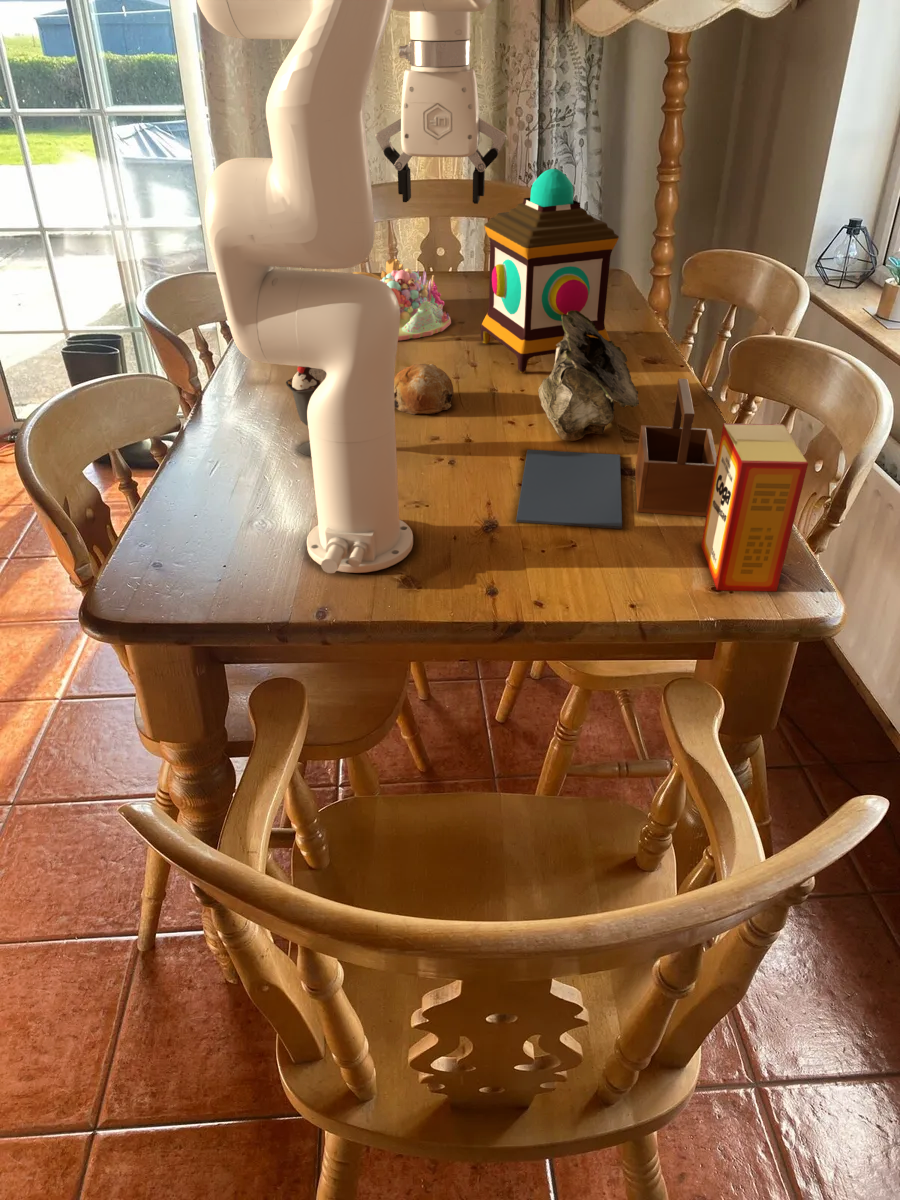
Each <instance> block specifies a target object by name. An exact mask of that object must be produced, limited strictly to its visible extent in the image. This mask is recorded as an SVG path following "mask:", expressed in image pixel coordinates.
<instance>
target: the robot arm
mask: <svg viewBox="0 0 900 1200" xmlns="http://www.w3.org/2000/svg"><path fill="white" fill-rule="evenodd" d="M492 1H493V0H196V3H197V5H198V7H199V9H200V11H201V13H202V15H203V17H204V18H205V20H206V21H207V23H208V24H209V25H210V26H211V27H212V28H213V29H215V31H217V32H219V33H220V34H222V35H224V36H226V37H231V38H233V39H234V38H235V39H241V40H296V41H295V43H294V44H293V46H292V48H291V49H290V50H289V52H288V54H287V56H286V57H285V58H284V60H283V62H282V64H281V65H280V67H279V69H278V70H277V72H276V74H275V76H274V79H273V81H272V83H271V86H270V88H269V91H268V95H267V98H266V101H265V119H266V123H267V130H268V137H269V143H270V149H271V156H272V157H255V156H254V157H251V156H249V157H246V156H245V157H235V158H231V159H227V160H226V161H224V162H222V163H220V164H219V165H218V166H217V167H216V168H215V169H214V171H213V172H212V174H211V176H210V177H209V180H208V182H207V186H206V190H205V197H204V222H205V230H206V235H207V240H208V241H207V242H208V246H209V250H210V254H211V258H212V263H213V267H214V271H215V274H216V279H217V283H218V287H219V291H220V295H221V299H222V304H223V306H224V307H223V308H224V311H225V315H226V319H227V323H228V326H229V331H230V333H231V336H232V339H233V341H234V344H235V346H236V347H237V349H238V350H239V352H240V353H241V354H242V355H243V356H244V357H245V358H247V359H249V360H250V361H253V362H258V363H263V364H271V365H278V366H289V367H291V366H292V367H299V366H302V367H310V368H316V369H322V370H324V371H325V372H326V374H327V375H326V378H325V380H324V381H323V382H322V383H321V384H320V385H319V386H318V388H317V389H316V390H315V392H314V393H313V395H312V396H311V398H310V401H309V404H308V409H307V420H308V426H307V427H308V436H309V442H310V447H311V456H310V457H311V466H312V476H313V487H314V495H315V505H316V506H315V507H316V515H317V524H316V525H315V526H314V527H313V528H312V529H311V530H310V531H309V533H308V535H307V537H306V549H307V552H308V555H309V557H310V558H311V559H312V560H313V561H314V562H316V563H317V564H318V565H320V568H321V569H322V570H323V572H325V573H326V574H335V573H336V572H341V573H346V574H347V573H349V574H350V573H351V574H361V573H362V574H363V573H372V572H377V571H382V570H384V569H385V570H386V569H387V568H390V567H393V566H394V565H397V564H399V563H400V562H401V561H403V560H404V559H405V558H407V556H408V555H410V553H411V552H412V550H413V545H414V535H413V530H412V529H411V527H410V526H409V525H408V524H407V522H405V521H403V520H402V519H400V503H399V481H398V456H397V433H396V432H397V431H396V430H397V429H396V415H395V414H396V412H395V411H396V410H395V409H396V408H395V407H394V377H395V376H396V370H395V369H396V361H397V350H398V342H399V340H398V336H399V327H400V309H399V303H398V300H397V297H396V295H395V294H394V292H393V291H392V289H391V288H390V287H389V286H388V285H386V284H385V283H384V282H382V281H380V280H378V279H376V278H373V277H370V276H366V275H362V274H355V273H353V272H345V271H344V272H343V271H342V272H341V271H326V270H341V269H343V270H344V269H349V268H353V267H354V268H355V267H357V266H359V265H361V264H363V263H364V262H365V261H366V260H367V258H368V257H369V256H370V254H371V252H372V250H373V248H374V242H375V229H376V228H375V225H376V224H375V211H374V201H373V190H372V182H371V181H372V180H371V171H370V161H369V160H370V159H369V153H368V152H369V151H368V143H367V133H366V121H365V120H366V119H365V106H366V105H365V104H366V96H367V91H368V86H369V82H370V78H371V74H372V72H373V67H374V65H375V62H376V59H377V55H378V52H379V50H380V46H381V43H382V41H383V37H384V35H385V31H386V28H387V25H388V22H389V19H390V15H391V12H392V10H393V11H398V12H408V13H409V41H408V43H407V44H405V45H399V47H398V55H399V59H405V60H407V61H408V62H409V65H410V67H409V68H406V69H404V72H403V80H402V89H401V107H400V118H399V119H398V120H396V121H395V122H392V123H391V124H389V125H388V126H385V127H383V129H381V130H379V131H377V133H376V134H375V138H376V140H377V142H378V145H379V146H380V149H381V150H382V151H383V155H384V156H385V158H386V159H387V160H388V161H389V162H390V163H391V164H392V165H393V167H394V169H395V170H396V171H397V192H398V195H401V196H402V203H408V202H409V201H410V200H411V199H412V181H411V179H412V176H411V175H412V173H411V168H410V166H409V162H410V160H411V159H412V158H413V157H419V158H420V157H421V158H466V157H467V158H468V159H469V161H470V162H471V163H472V165H473V166H474V170H473V172H472V203H473V204H474V205H478V204H479V202H480V199H481V197H484V196H485V187H486V186H485V183H486V182H485V181H486V178H485V177H486V174H485V173H486V170H487V168H488V167H489V166H490V165H491V164H492V163H493V162H494V161H495V160H496V159H497V157H498V156H499V153H500V152H501V149H502V148H503V146H504V144H505V141H506V139H507V133H505V132H504V131H502V130H500V129H498V127H495V126H494V125H492V124H490V123H489V122H487V121H485V120H484V119H482V118H480V105H479V93H478V91H479V90H478V83H477V75H476V71H475V68H471V67H470V66H471V40H470V39H471V13H475V12H480V11H482V10H485V9H486V8H487V7H488V6H490V4H491V2H492ZM399 132H400V144H401V145H400V147H401V151H402V153H401V154H400V153H399V152H398V151H397V149H395V147H393V145H392V142H391V139H390V138H391V137H392V136H394V135H396V134H398V133H399ZM480 133H482V134H483V135H485V136H486V137H488V138H490V139H491V140H492V145H491V147H490V149H489V150H488V151H487V152H486V153H485V154H484V155H483V154H482V152H481V151H480V150H479V144H480ZM277 267H281V268H277ZM283 268H285V269H283ZM286 268H295V269H286ZM296 269H297V270H296ZM299 269H300V270H299ZM301 269H302V270H301ZM303 269H313V270H303ZM315 269H316V270H315Z"/></svg>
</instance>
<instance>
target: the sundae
mask: <svg viewBox="0 0 900 1200" xmlns="http://www.w3.org/2000/svg"><path fill="white" fill-rule="evenodd" d="M296 369H297V372H296V373H295V374H294V375H293V377H292V378H289V379H288V380H285V385H286V386H287V388H288V389H289V390H290V391H291V392H292V395H293V399H294V403H295V408H296V411H297V415H298V417H299V420H300V421H301V422H302V423H303V424H304V425H305V426H307V427H308V420H307V409H308V404H309V401H310V398H311V396H312V395H313V393H314V392H315V390H316V389H317V388H318V386H319V385H320V384H321V383H322V382H323V381H324V380H325V378H326V375H327V374H326V372H325V371H324V370H322V369H316V368H310V367H302V366H297V368H296ZM298 450H299V452H300V453H301V454H302V455H304V456H307V457H311V447H310V441H307V442H304V443H303V444H301V445H300V446H299V449H298Z"/></svg>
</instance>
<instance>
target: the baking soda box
mask: <svg viewBox="0 0 900 1200" xmlns="http://www.w3.org/2000/svg"><path fill="white" fill-rule="evenodd" d="M808 465H809V462H808V461H807V459H806V458H805V456H804V455H803V453H802V451H801V450H800V448H799V447H798V445H797V443H796V441H795V440H794V439H793V437H792V435H791V434H790V432H789V431H788V429H787V427H786V425H785V424H784V423H781V424H780V423H722V429H721V435H720V440H719V445H718V451H717V461H716V466H715V472H714V477H713V483H712V488H711V494H710V499H709V505H708V510H707V516H705V522H704V527H703V533H702V537H701V538H702V539H701V544H700V546H701V550H702V552H703V555H704V557H705V560H706V564H707V566H708V569H709V572H710V574H711V577H712V580H713V584H714V586H715V588H716V591H734V592H737V591H738V592H777V591H778V587H779V584H780V579H781V577H782V576H781V575H782V572H783V567H784V563H785V559H786V555H787V552H788V547H789V544H790V539H791V535H792V530H793V526H794V523H795V519H796V514H797V512H798V507H799V502H800V498H801V494H802V490H803V486H804V483H805V478H806V474H807V470H808Z"/></svg>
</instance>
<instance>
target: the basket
mask: <svg viewBox="0 0 900 1200" xmlns="http://www.w3.org/2000/svg"><path fill="white" fill-rule="evenodd" d="M694 419H695V410H694V404H693V399H692V394H691V390H690V384H689V379H688V378H678V379H677V384H676V395H675V402H674V409H673V417H672V424H671V426H666V425H665V426H664V425H647V424H645V425H644V424H641V425H640V431H639V438H638V439H639V440H638V446H637V454H636V462H635V471H634V476H635V477H634V478H635V492H636V493H635V494H636V506H637V507H636V509H637V512H638V513H644V514H645V513H647V514H662V515H677V516H679V515H680V516H695V517H706V516H707V510H708V505H709V499H710V494H711V488H712V483H713V477H714V472H715V466H716V461H717V455H718V453H717V451H716V446H715V441H714V437H713V433H712V428H704V427H703V428H701V427H693V423H694ZM681 424H682V425H681Z"/></svg>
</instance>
